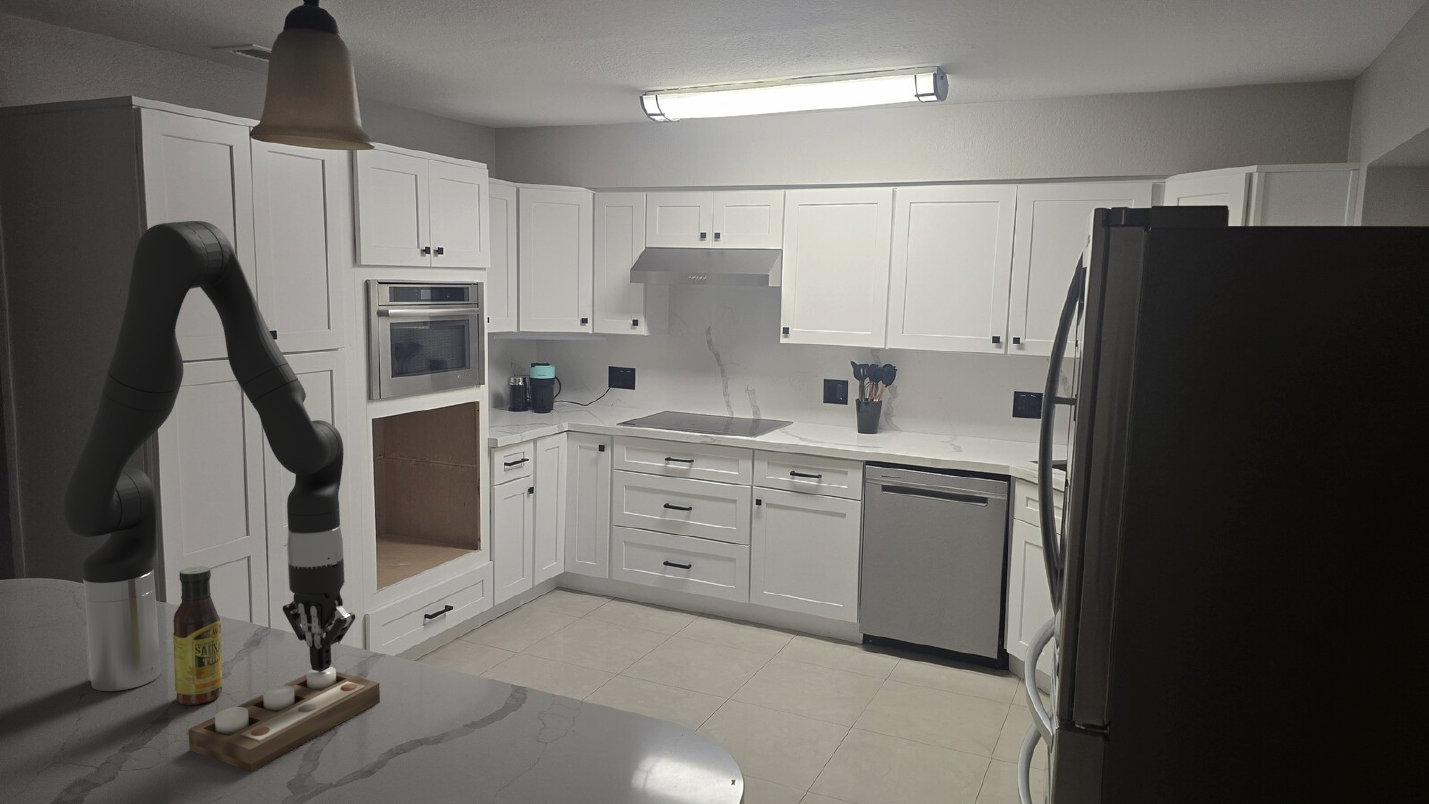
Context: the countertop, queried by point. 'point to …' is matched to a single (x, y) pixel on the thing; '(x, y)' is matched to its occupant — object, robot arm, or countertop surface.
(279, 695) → the button
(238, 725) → the button
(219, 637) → the sauce bottle
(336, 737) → the countertop surface
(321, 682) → the button
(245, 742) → the button panel
